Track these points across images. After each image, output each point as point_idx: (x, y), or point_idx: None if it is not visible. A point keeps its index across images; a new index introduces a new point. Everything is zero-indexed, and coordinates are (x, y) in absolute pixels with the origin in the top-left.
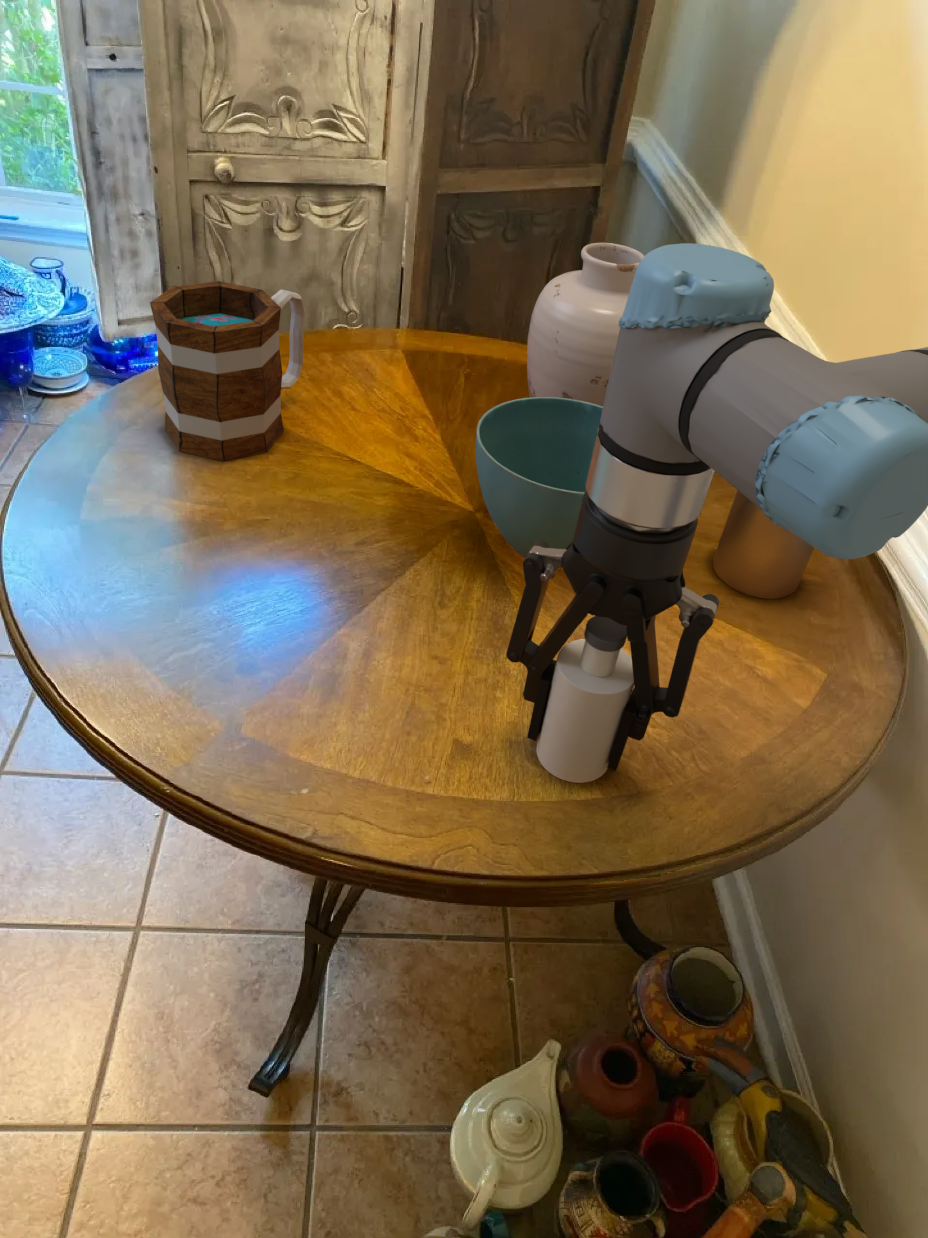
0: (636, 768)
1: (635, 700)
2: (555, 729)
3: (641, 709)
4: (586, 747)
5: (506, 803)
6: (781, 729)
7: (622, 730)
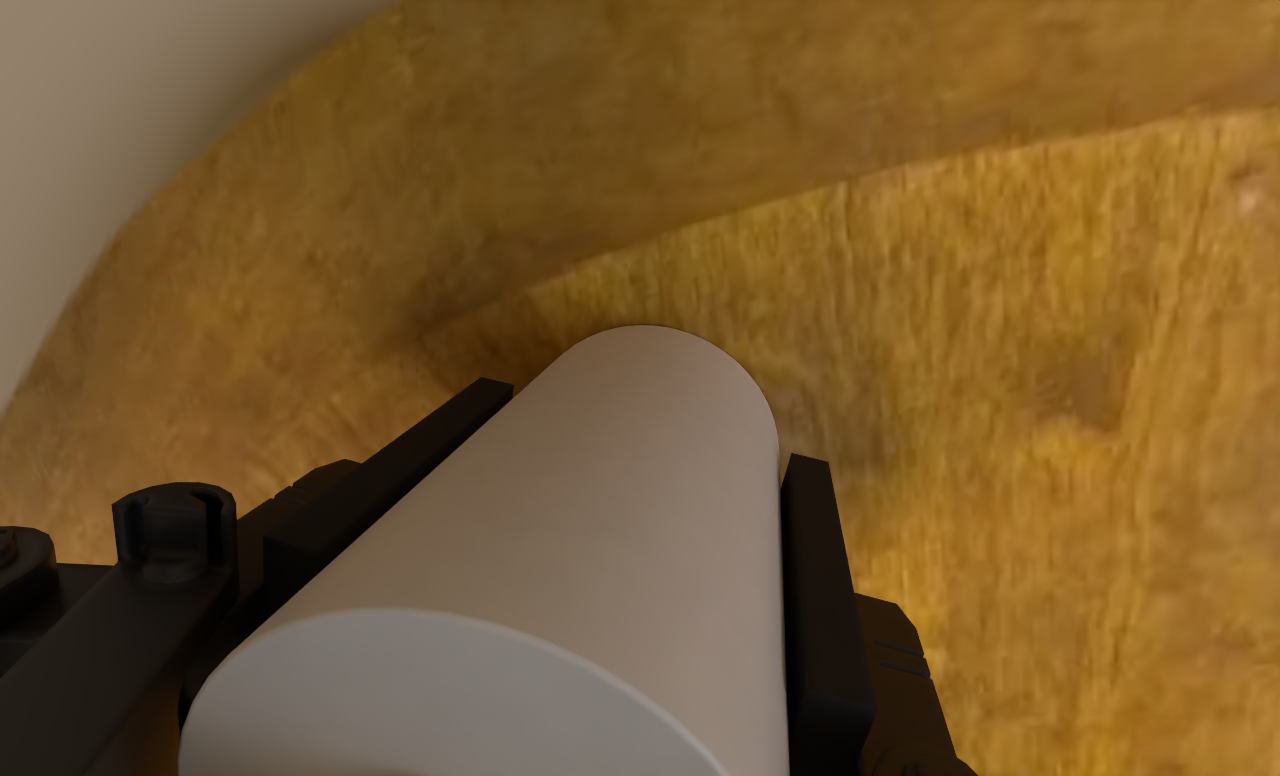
0: None
1: None
2: (722, 446)
3: (190, 558)
4: (566, 384)
5: (876, 158)
6: None
7: (390, 474)
